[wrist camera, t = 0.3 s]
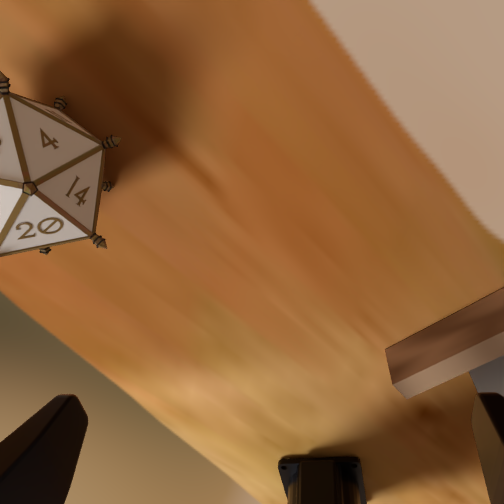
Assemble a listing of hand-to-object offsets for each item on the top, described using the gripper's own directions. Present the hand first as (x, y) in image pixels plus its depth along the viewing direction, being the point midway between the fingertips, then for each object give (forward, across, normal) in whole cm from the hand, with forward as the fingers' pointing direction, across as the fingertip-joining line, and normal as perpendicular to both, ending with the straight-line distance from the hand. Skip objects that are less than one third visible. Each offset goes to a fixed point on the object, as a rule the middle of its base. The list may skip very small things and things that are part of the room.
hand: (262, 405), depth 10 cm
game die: (+16, +12, -2) cm, 20 cm away
